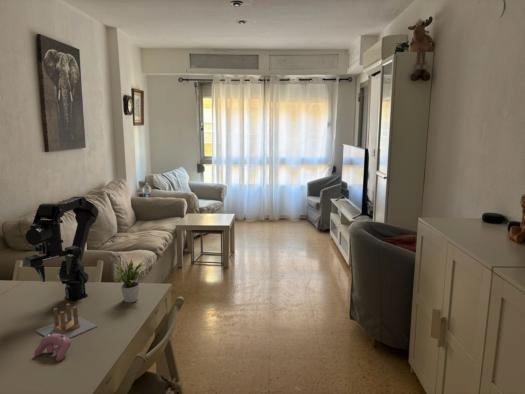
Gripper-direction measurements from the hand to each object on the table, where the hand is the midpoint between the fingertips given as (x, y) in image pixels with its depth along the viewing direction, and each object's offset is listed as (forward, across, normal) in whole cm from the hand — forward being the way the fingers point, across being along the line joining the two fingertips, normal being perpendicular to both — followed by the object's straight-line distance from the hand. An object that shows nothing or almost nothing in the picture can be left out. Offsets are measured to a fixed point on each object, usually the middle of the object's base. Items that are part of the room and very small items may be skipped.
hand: (56, 278), depth 148 cm
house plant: (+13, -22, +16) cm, 30 cm away
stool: (+12, +6, +17) cm, 22 cm away
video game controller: (+13, +16, +29) cm, 36 cm away
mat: (+12, +6, +17) cm, 22 cm away
